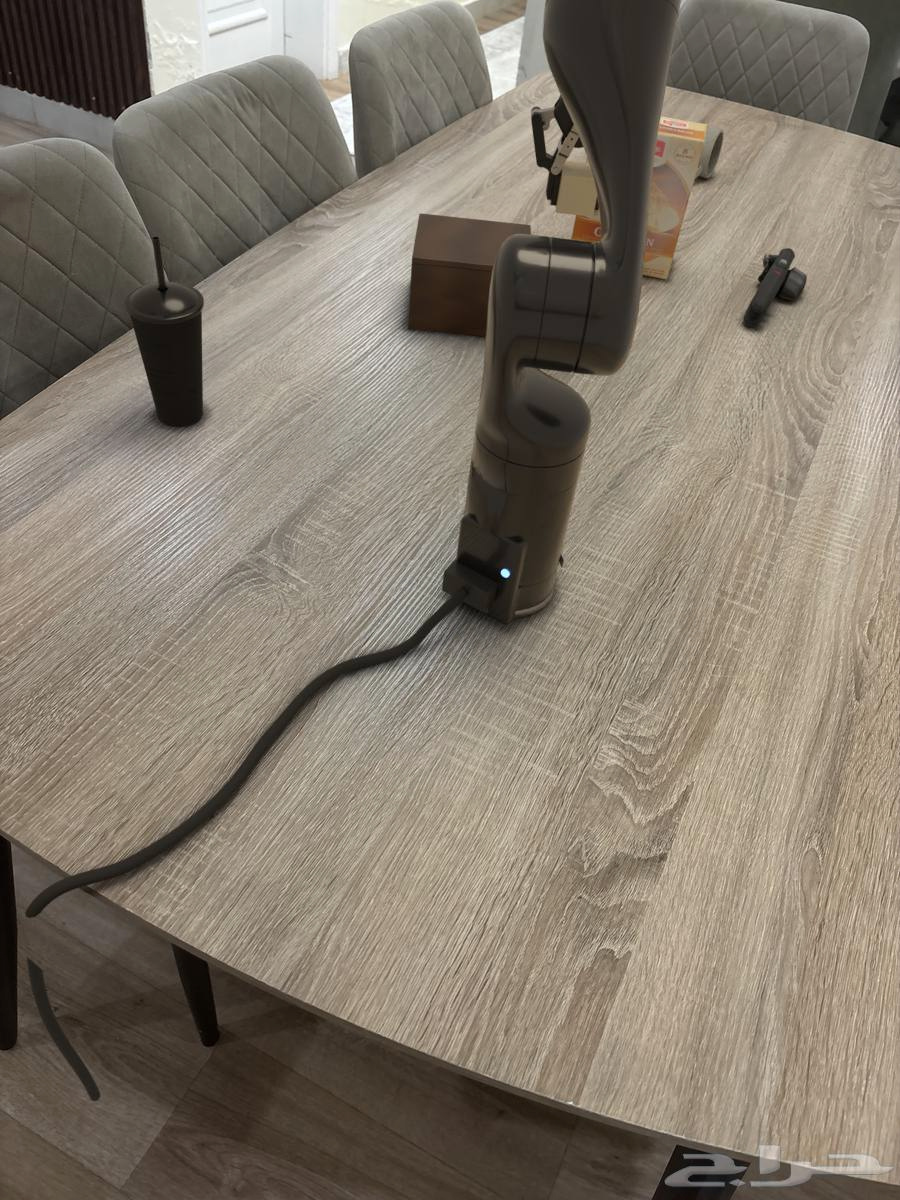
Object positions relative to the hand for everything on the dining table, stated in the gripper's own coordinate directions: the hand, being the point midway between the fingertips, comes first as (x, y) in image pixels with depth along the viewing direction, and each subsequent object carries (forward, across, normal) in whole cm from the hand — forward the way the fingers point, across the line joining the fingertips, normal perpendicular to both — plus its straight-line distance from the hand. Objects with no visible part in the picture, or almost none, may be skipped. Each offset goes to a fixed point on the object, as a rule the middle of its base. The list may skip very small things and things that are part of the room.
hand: (574, 204), depth 114 cm
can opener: (+16, +31, +11) cm, 36 cm away
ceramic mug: (+16, +25, +56) cm, 63 cm away
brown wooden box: (+15, -12, 0) cm, 19 cm away
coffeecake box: (+16, +10, +19) cm, 27 cm away
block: (0, 0, 0) cm, 0 cm away
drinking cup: (+15, -42, -30) cm, 54 cm away
